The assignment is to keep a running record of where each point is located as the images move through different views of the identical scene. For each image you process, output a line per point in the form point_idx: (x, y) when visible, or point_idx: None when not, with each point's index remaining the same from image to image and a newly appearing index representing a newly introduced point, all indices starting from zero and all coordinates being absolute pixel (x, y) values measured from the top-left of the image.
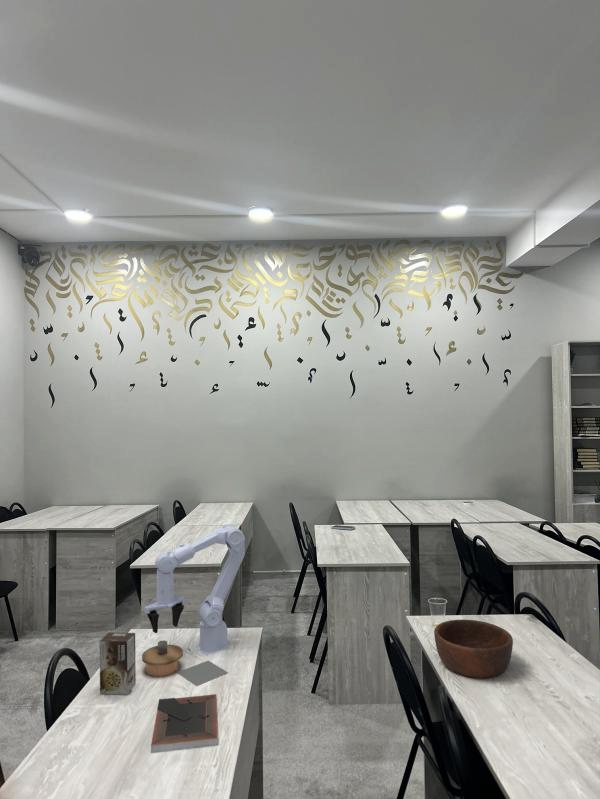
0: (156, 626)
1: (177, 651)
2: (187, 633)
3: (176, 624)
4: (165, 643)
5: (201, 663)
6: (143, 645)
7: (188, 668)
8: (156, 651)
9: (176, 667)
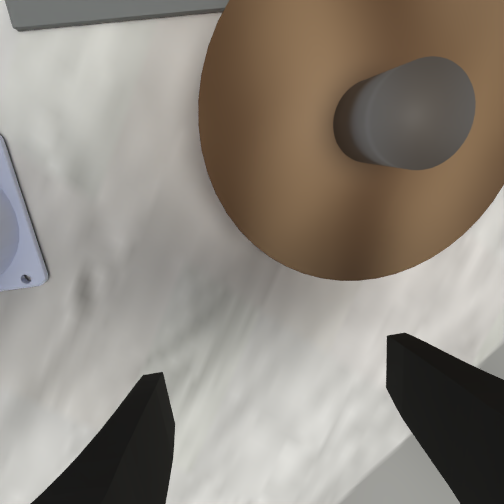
0: (458, 365)
1: (255, 65)
2: (32, 477)
3: (150, 385)
4: (417, 60)
5: (77, 12)
6: (283, 453)
7: (191, 1)
8: (392, 185)
9: None
